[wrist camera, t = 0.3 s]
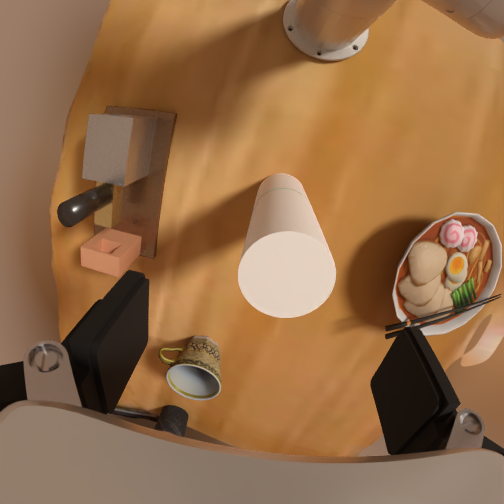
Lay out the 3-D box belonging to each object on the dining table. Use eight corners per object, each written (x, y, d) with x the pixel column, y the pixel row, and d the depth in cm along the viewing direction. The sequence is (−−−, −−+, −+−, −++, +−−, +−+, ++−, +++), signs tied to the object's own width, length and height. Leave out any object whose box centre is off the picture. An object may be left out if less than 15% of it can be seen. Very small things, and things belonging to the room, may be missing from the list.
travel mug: (156, 404, 68) (134, 466, 50) (182, 404, 67) (162, 470, 48) (169, 420, 71) (150, 480, 53) (193, 420, 69) (178, 483, 51)
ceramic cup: (238, 348, 57) (232, 386, 48) (208, 371, 61) (199, 406, 51) (186, 310, 54) (170, 344, 45) (159, 336, 58) (142, 370, 48)
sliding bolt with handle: (115, 115, 35) (63, 118, 25) (133, 117, 36) (84, 119, 25) (104, 217, 42) (58, 248, 31) (120, 221, 42) (76, 254, 31)
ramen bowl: (487, 191, 40) (515, 204, 33) (477, 297, 49) (496, 319, 42) (368, 209, 44) (385, 227, 37) (373, 325, 53) (385, 353, 45)
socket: (106, 227, 47) (80, 246, 40) (141, 236, 48) (119, 258, 40) (105, 244, 49) (81, 265, 41) (140, 254, 49) (118, 277, 41)
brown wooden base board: (109, 106, 40) (76, 105, 31) (177, 113, 40) (153, 112, 32) (97, 240, 50) (69, 262, 41) (155, 256, 50) (133, 283, 41)
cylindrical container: (249, 207, 46) (223, 297, 23) (269, 165, 43) (262, 214, 20) (292, 226, 46) (306, 329, 23) (312, 185, 43) (353, 256, 21)
